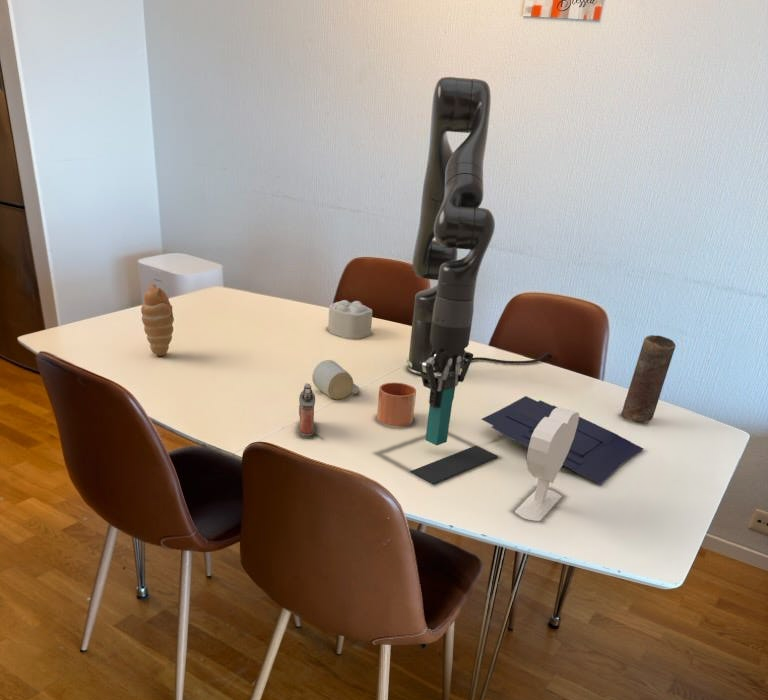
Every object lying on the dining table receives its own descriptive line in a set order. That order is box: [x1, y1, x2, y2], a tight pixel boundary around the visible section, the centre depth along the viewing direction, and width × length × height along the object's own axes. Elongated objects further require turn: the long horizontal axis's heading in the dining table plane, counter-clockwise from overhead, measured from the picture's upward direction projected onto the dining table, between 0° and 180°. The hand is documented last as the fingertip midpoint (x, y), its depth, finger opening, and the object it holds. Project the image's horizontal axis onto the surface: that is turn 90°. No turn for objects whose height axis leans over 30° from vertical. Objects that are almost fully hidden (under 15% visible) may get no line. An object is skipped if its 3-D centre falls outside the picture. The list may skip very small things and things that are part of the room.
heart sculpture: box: [514, 406, 580, 522], centre depth 130 cm, size 16×5×18 cm, turn 148°
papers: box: [481, 395, 644, 485], centre depth 158 cm, size 24×30×4 cm
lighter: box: [298, 382, 316, 439], centre depth 151 cm, size 8×3×10 cm, turn 5°
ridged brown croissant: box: [140, 282, 175, 357], centre depth 181 cm, size 9×8×18 cm
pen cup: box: [376, 382, 417, 427], centre depth 160 cm, size 8×8×8 cm
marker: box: [425, 373, 456, 447], centre depth 144 cm, size 3×3×14 cm
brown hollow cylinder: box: [620, 334, 677, 424], centre depth 169 cm, size 8×7×20 cm
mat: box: [409, 445, 499, 485], centre depth 148 cm, size 20×16×1 cm
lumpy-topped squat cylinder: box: [327, 299, 373, 340], centre depth 214 cm, size 10×13×9 cm
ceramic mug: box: [311, 359, 360, 401], centre depth 171 cm, size 11×8×8 cm
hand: (440, 404), depth 143 cm, fingers closed on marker, 3 cm apart
